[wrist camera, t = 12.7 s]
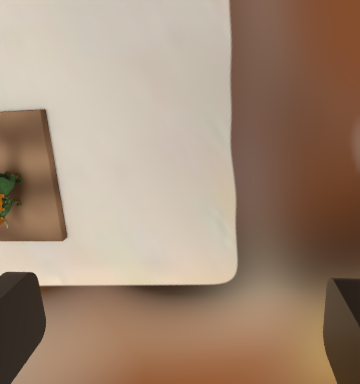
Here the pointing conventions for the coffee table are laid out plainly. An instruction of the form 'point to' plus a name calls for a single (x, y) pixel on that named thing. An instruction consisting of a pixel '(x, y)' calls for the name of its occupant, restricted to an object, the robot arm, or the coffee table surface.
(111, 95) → the coffee table surface
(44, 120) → the walnut board
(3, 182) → the figurine
